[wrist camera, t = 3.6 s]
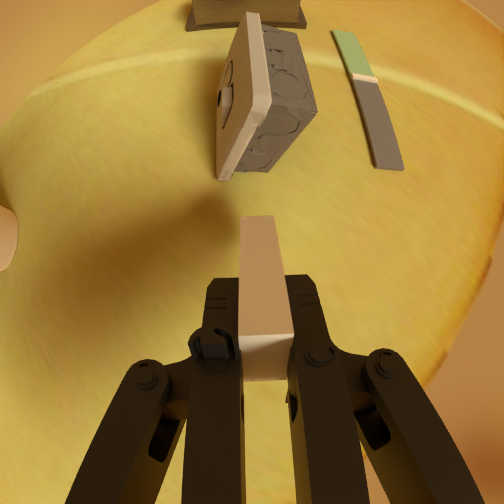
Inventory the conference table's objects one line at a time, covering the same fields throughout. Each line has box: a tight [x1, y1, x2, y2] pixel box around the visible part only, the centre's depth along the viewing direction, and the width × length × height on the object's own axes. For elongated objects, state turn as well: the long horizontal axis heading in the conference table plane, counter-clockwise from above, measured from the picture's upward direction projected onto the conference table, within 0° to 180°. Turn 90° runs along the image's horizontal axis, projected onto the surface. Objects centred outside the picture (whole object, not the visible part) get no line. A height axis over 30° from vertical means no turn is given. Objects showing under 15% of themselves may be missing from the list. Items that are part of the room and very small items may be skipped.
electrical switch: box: [216, 12, 318, 182], centre depth 14 cm, size 8×5×8 cm, turn 3°
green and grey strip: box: [332, 30, 404, 171], centre depth 19 cm, size 2×17×1 cm, turn 2°
